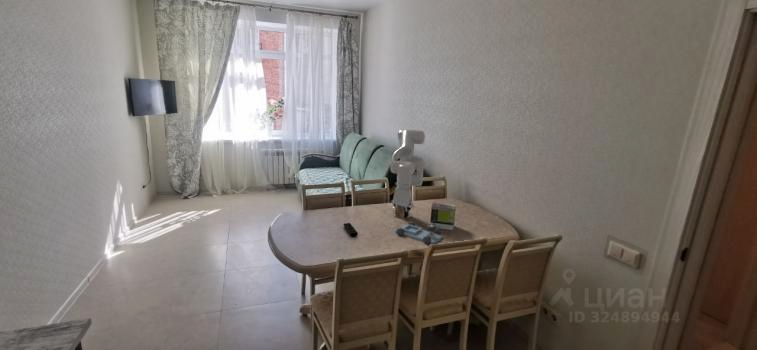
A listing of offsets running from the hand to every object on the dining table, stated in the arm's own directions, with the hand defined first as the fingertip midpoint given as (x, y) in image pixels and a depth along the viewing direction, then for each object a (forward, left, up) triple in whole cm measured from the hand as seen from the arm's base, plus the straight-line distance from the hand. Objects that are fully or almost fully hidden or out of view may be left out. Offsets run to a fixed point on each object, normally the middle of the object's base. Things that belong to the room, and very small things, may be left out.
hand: (401, 215), depth 204 cm
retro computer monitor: (+10, +37, -15) cm, 41 cm away
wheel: (+13, +14, -12) cm, 22 cm away
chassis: (+5, +14, -15) cm, 21 cm away
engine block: (0, 0, -1) cm, 1 cm away
